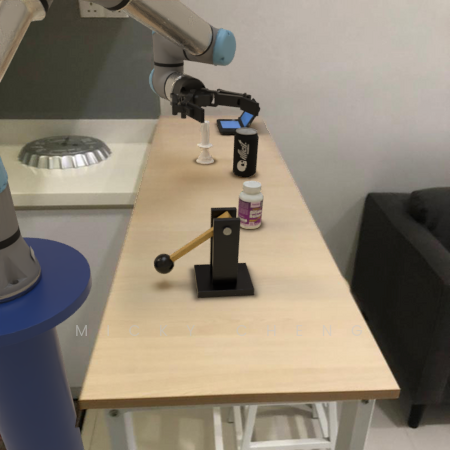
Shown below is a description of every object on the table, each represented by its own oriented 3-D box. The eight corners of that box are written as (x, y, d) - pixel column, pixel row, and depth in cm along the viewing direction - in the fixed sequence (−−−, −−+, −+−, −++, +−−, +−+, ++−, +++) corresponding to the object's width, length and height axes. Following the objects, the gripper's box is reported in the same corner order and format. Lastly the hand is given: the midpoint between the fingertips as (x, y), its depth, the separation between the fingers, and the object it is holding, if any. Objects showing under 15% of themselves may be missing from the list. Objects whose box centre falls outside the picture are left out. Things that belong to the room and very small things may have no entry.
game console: (215, 122, 172) (216, 96, 167) (252, 123, 174) (254, 97, 168) (219, 135, 160) (220, 107, 154) (258, 135, 161) (261, 108, 156)
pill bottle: (252, 232, 102) (255, 190, 97) (232, 225, 105) (234, 184, 99) (265, 223, 106) (269, 183, 100) (246, 217, 108) (249, 177, 103)
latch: (162, 281, 82) (149, 267, 80) (162, 270, 85) (149, 257, 83) (239, 231, 78) (227, 215, 76) (235, 221, 81) (224, 206, 79)
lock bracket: (197, 297, 81) (197, 226, 73) (193, 270, 89) (193, 203, 81) (253, 294, 83) (259, 224, 75) (245, 268, 90) (250, 201, 82)
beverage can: (229, 176, 129) (231, 132, 122) (236, 168, 134) (238, 125, 127) (252, 179, 127) (255, 135, 120) (258, 171, 132) (261, 128, 125)
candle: (197, 164, 136) (197, 122, 129) (194, 158, 140) (194, 116, 133) (215, 163, 137) (216, 121, 130) (212, 157, 141) (213, 116, 134)
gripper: (229, 103, 121) (276, 124, 107) (139, 113, 111) (178, 138, 96) (230, 72, 117) (280, 89, 102) (137, 79, 106) (177, 99, 92)
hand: (231, 113), depth 99 cm, fingers open, 13 cm apart
